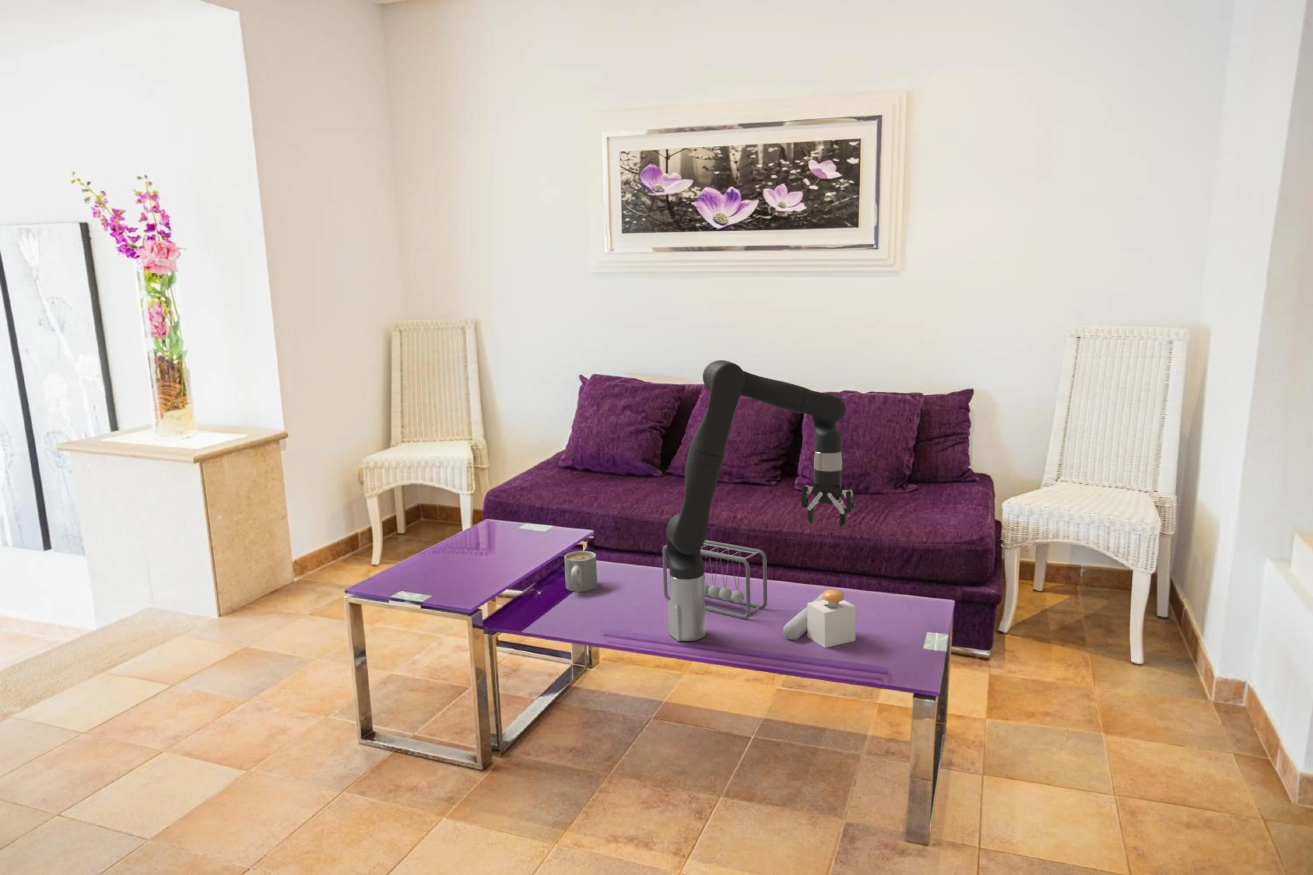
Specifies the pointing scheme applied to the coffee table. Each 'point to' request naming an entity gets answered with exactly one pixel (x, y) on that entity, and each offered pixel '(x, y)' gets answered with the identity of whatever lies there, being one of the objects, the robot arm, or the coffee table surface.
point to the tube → (798, 624)
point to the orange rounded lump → (833, 597)
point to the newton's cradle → (726, 592)
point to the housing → (831, 623)
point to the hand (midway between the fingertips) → (827, 524)
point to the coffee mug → (580, 571)
